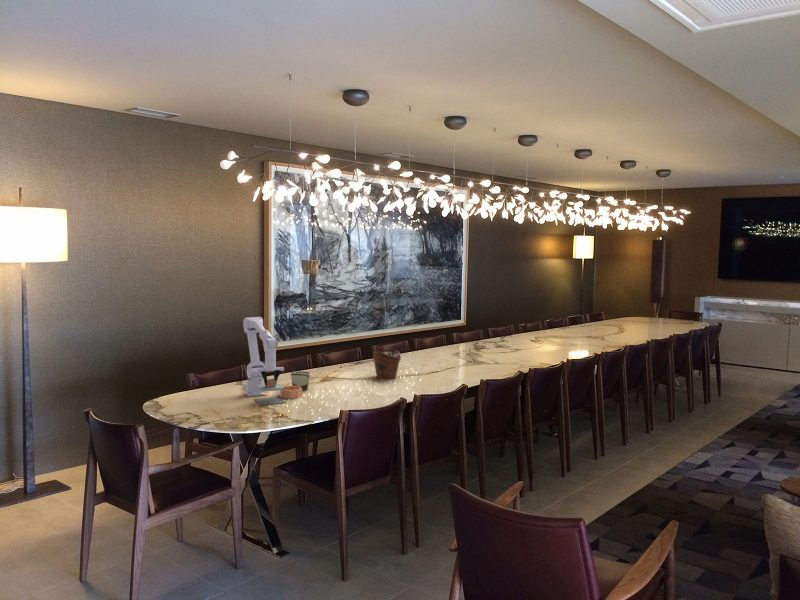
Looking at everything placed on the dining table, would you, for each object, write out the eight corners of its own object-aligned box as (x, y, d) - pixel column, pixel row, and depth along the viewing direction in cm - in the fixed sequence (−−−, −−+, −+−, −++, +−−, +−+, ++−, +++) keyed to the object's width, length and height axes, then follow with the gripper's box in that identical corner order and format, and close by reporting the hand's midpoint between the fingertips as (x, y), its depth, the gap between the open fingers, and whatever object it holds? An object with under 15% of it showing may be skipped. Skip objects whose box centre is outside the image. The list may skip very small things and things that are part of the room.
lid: (261, 391, 344) (261, 382, 343) (257, 386, 354) (256, 378, 354) (284, 389, 349) (284, 380, 348) (278, 385, 360) (278, 376, 359)
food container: (313, 388, 385) (313, 371, 384) (309, 390, 379) (309, 373, 378) (294, 386, 388) (294, 370, 387) (290, 388, 382) (290, 372, 381)
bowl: (283, 399, 357) (283, 391, 357) (278, 394, 368) (278, 386, 368) (303, 397, 362) (303, 389, 362) (297, 392, 373) (297, 385, 372)
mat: (260, 405, 343) (260, 404, 343) (254, 399, 355) (254, 398, 355) (285, 403, 349) (285, 402, 349) (279, 397, 361) (279, 396, 361)
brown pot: (402, 374, 430) (402, 347, 428) (399, 380, 410) (399, 352, 409) (375, 373, 432) (375, 347, 430) (371, 380, 412) (371, 352, 410)
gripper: (258, 362, 344) (258, 387, 345) (285, 360, 350) (285, 385, 351) (255, 359, 350) (255, 384, 351) (282, 358, 356) (282, 382, 357)
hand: (270, 384), depth 352 cm, fingers closed on lid, 4 cm apart
